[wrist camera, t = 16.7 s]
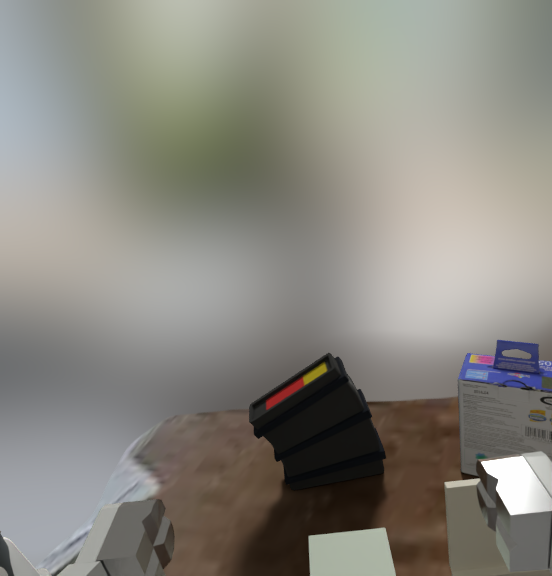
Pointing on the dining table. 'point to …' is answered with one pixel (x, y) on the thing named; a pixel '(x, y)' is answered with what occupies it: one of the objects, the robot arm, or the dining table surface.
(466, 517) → the carton
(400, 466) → the dining table surface
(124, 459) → the dining table surface
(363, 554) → the box
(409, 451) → the dining table surface
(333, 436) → the magazine
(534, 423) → the ink cartridge box
